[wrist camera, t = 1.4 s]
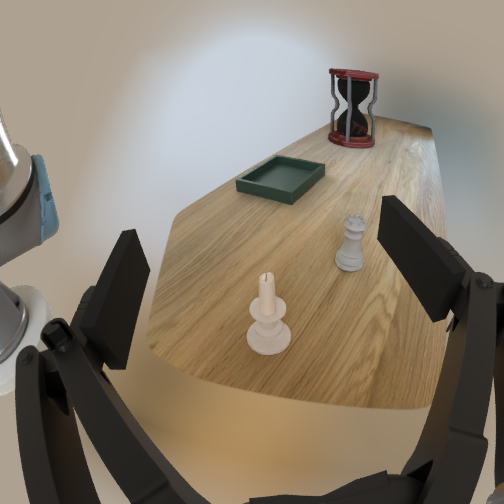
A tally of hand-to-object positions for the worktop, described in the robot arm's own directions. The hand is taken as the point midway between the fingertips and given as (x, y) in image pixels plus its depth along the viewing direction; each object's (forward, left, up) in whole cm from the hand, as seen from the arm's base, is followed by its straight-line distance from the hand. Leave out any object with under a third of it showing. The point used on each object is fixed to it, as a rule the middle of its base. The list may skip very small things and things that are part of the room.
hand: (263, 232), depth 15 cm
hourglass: (+28, +84, -21) cm, 91 cm away
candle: (0, +8, -21) cm, 22 cm away
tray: (+3, +50, -20) cm, 54 cm away
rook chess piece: (+12, +21, -21) cm, 32 cm away
